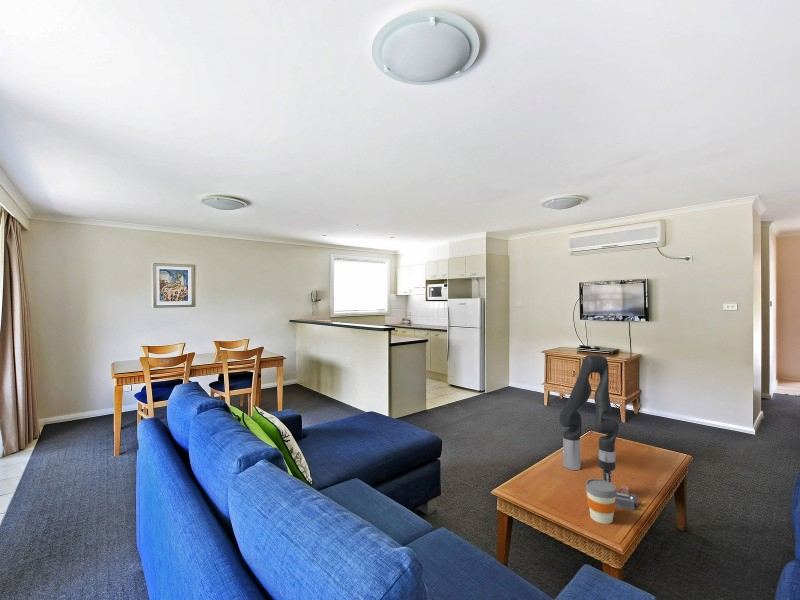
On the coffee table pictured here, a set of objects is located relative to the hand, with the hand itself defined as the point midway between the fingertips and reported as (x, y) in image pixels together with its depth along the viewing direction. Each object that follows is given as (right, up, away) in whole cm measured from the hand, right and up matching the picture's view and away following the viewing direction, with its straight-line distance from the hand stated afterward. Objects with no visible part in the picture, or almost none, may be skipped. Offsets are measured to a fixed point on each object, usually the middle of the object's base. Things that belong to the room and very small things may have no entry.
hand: (607, 492), depth 190 cm
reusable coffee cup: (-13, -2, -18) cm, 22 cm away
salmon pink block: (+8, -2, -1) cm, 9 cm away
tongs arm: (+2, -2, -5) cm, 6 cm away
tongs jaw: (-1, -2, -9) cm, 9 cm away
